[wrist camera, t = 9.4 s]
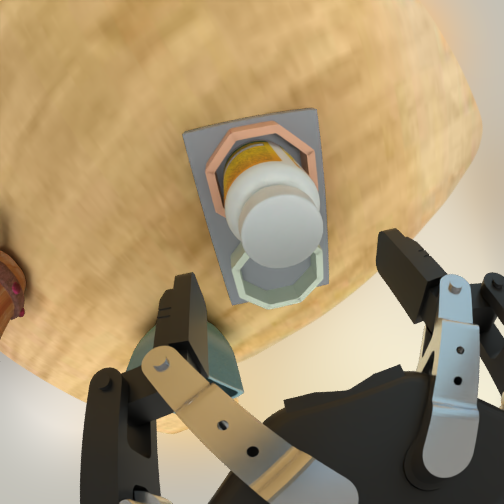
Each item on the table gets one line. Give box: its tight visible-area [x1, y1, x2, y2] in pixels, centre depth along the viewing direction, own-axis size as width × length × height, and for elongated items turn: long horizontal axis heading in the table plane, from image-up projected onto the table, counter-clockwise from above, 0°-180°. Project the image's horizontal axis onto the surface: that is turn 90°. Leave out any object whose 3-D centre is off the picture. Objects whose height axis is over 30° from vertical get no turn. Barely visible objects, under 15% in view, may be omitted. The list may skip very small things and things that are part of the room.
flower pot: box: [126, 321, 244, 414], centre depth 27 cm, size 9×9×9 cm
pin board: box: [182, 108, 329, 310], centre depth 23 cm, size 10×17×3 cm, turn 10°
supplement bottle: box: [223, 140, 323, 268], centre depth 17 cm, size 5×5×10 cm
